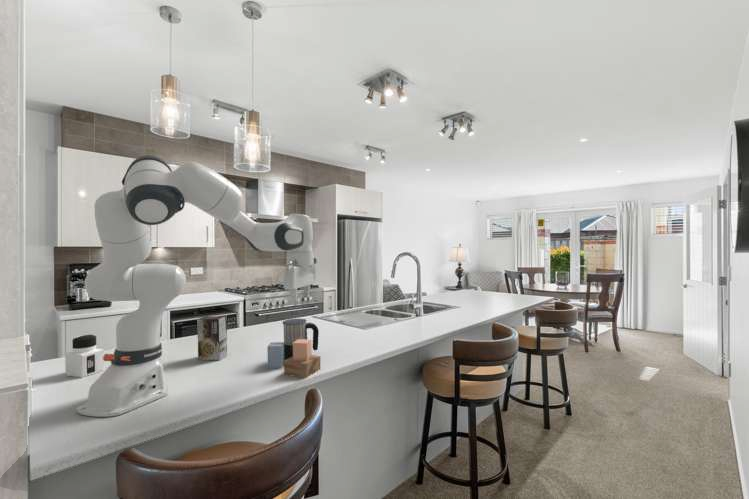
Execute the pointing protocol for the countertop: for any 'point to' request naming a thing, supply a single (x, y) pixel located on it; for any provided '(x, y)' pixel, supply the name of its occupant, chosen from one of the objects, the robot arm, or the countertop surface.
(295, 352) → the terracotta block
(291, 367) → the walnut block
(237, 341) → the countertop surface
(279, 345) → the slate block
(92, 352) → the container
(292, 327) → the milk frother
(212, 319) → the coffee box
